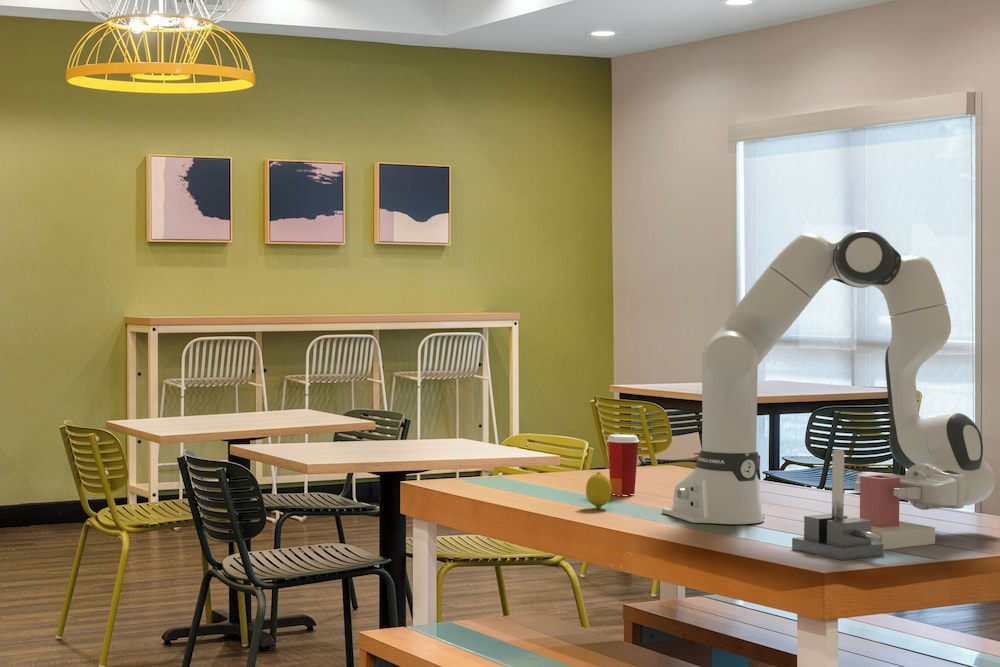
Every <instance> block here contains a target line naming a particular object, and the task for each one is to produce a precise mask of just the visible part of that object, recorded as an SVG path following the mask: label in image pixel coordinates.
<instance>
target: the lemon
mask: <svg viewBox="0 0 1000 667" xmlns="http://www.w3.org/2000/svg"><path fill="white" fill-rule="evenodd" d="M585 495H586V498H587V500H588V502H589V503H590V504H591V505H593V506H595V508H596V509H598V510H599V509H601V508H602V507H603V506H604V505H606V504H607V503H609V501H610V500H611V498H612V497H611V496H612V495H611V484H610V478H608V476H607V475H605V474H603V473H601V471H598V472H596V473H594V474H592V475H591V476H590V477H589V478H588V480H587V483H586V487H585Z"/></svg>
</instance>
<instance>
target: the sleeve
mask: <svg viewBox="0 0 1000 667" xmlns="http://www.w3.org/2000/svg"><path fill="white" fill-rule="evenodd" d="M894 488H900V477H893V476H885V475H866V476H860V492H859V518H860V519H865V520H871V526H874V527H879V528H882V527H892V526H899V521H900V499H899V498H894V497H893V494H894V492H893V490H894Z"/></svg>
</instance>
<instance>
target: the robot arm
mask: <svg viewBox="0 0 1000 667" xmlns="http://www.w3.org/2000/svg"><path fill="white" fill-rule="evenodd" d="M939 278H940V277H938V274H937V272H936V270H935V268H934V266H933V264H932V262H931V261H930V260H929V259H928V258H926V257H924V256H920V255H906V256H905V255H904V256H901V254H900V253H899V251H898V250H896V249H895V248H894V247H893V246H892V244H890V242H889V241H888V240H887V239H886V238H884V236H883V235H881V234H879V233H877V232H876V231H874V230H871V229H870V230H869V229H858V230H854V231H852V232H849V233H847V234H846V235H845V236H844V237H842V239H841V240H839V241H838V242H831V241H828V240H827V239H825V238H824V237H822V236H821V235H819V234H815V233H814V234H813V233H803V234H799V235H798V236H797V237H796V238H795V239H794V240H792V241H791V242H790V243H789V244H788V245H787V246H786V247H785V248H783V249H782V251H780V253H778V255H777V256H776V257H775V258H774V259H773V260H772V261H771V263H770V264H769V265H768V267H766V269H765V270H764V271H763V273H762V274H761V275H760V276H759V278H758V279H757V280H756V282H755V283H754V284H753V285H752V287H751V288H750V289H749V290H748V291H747V292H746V294H745V295H744V297H743V298H742V299H741V300H740V301H739V303H738V304H737V305H736V307H735V308H734V309H733V310H732V312H731V313H730V314H729V316H728V317H727V318H726V319H725V321H724V322H723V323H722V324H721V326H720V327H719V328H718V330H717V331H716V332H715V333H714V334H713V335H712V336H711V337H710V339H708V340H707V341H706V343H705V345H704V347H703V350H702V354H701V368H702V369H701V387H702V388H701V389H702V390H701V392H702V393H701V395H702V396H701V397H702V398H701V399H702V401H701V402H702V404H701V405H702V406H701V407H702V416H701V418H702V425H701V426H702V428H701V429H702V431H701V432H702V433H701V436H702V437H701V449H700V451H699V452H694V453H693V455H695V456H693V457H692V459H696V464H695V468H694V469H693V470H692V471H691V472H690V473H688V475H686V476H685V477H684V478H683V479H681V481H680V482H678V483H677V484H676V485H675V487H674V491H673V492H674V493H673V501H672V502H673V504H672V505H671V506H665V507H663V508H662V509H661V513H662V514H665V515H668V516H671V517H674V518H677V519H680V520H684V521H687V522H690V523H693V524H720V525H748V524H759V523H763V522H764V518H765V517H766V516H765V512H764V511H763V508H762V498H761V496H762V495H761V488H760V487H761V486H760V478H759V479H758V477H757V469H758V468H759V458H758V455H759V452H758V451H757V443H758V442H757V430H758V428H757V427H758V426H757V424H758V419H757V418H758V375H759V374H758V372H759V369H758V367H759V364H760V363H762V361H763V360H764V359H765V358H766V356H767V355H768V354H769V353H770V351H771V350H772V349H773V348H774V346H776V344H777V343H778V342H779V340H780V339H781V338H782V337H783V335H784V334H785V333H786V332H787V331H788V330H789V329H790V327H791V326H792V324H794V322H795V321H796V320H797V319H798V317H799V316H800V315H801V314H802V312H803V311H804V310H805V309H806V308H807V307H808V305H809V303H810V302H812V300H813V298H815V296H816V295H817V294H818V293H819V291H820V290H821V289H822V288H823V287H824V286H825V284H827V283H828V282H829V281H831V280H833V281H836V282H838V283H842V284H844V285H847V286H848V287H853V288H858V289H861V288H862V289H864V288H869V287H875V288H877V289H878V290H879V291H880V292H881V293H882V295H883V297H884V299H885V302H886V305H887V309H888V315H889V320H890V325H891V326H890V328H891V338H890V343H889V345H888V347H887V348H886V352H885V358H884V365H885V366H884V367H885V368H884V369H885V381H886V389H887V390H886V391H887V401H888V413H889V423H890V425H889V437H888V438H889V439H888V444H889V445H888V446H889V451H890V453H891V455H892V457H893V459H894V460H895V461H896V462H897V463H898V464H899V465H900V466H902V467H903V468H904V469H906V470H907V471H906V473H905V474H903V475H902V474H895V473H887V472H886V473H885V472H867V473H865V472H864V473H858V474H857V475H856V478H855V479H856V480H855V482H854V491H855V493H856V492H858V493H860V476H866V475H885V476H893V477H900V488H894V490H893V492H894V494H893V497H894V498H899V500H905V501H908V503H910V504H911V505H912V506H913V507H914V508H916V509H918V510H921V511H922V510H923V511H924V510H925V511H926V510H938V509H951V510H952V509H953V510H955V509H956V510H957V509H958V510H961V509H962V508H964V507H966V506H971V505H975V504H977V503H978V504H979V503H981V502H983V501H984V500H986V499H987V498H988V497H990V495H991V494H992V492H993V490H994V488H995V485H996V477H995V473H994V471H993V469H992V467H991V466H990V464H988V463H987V462H986V460H985V459H984V457H983V452H984V445H983V443H984V442H983V438H982V434H981V431H980V430H979V427H978V426H977V424H976V423H975V422H974V421H973V420H972V419H971V418H970V417H969V416H967V415H965V414H963V413H961V412H957V413H950V414H944V415H943V414H942V415H938V416H933V417H927V418H921V416H920V413H919V403H918V395H917V382H916V378H917V374H918V373H919V372H918V371H919V369H920V368H921V367H922V365H923V364H924V363H925V362H926V361H928V360H929V359H931V357H933V356H934V355H935V354H936V353H937V352H939V351H940V350H941V349H942V348H944V346H945V345H946V343H947V342H948V340H949V337H950V335H951V332H952V331H951V330H952V321H951V314H950V311H949V307H948V303H947V300H946V296H945V292H944V290H943V287H942V284H941V281H940V279H939ZM696 455H697V456H696Z"/></svg>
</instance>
